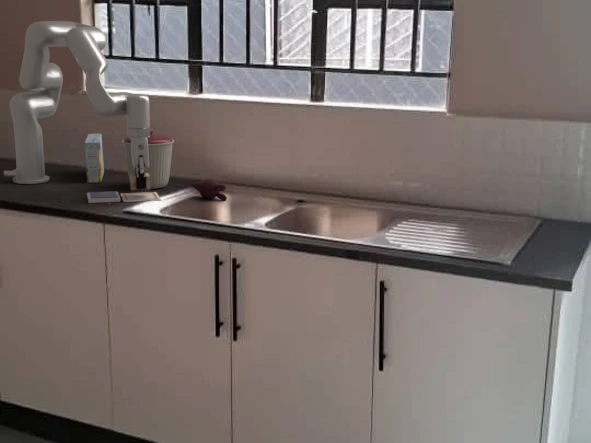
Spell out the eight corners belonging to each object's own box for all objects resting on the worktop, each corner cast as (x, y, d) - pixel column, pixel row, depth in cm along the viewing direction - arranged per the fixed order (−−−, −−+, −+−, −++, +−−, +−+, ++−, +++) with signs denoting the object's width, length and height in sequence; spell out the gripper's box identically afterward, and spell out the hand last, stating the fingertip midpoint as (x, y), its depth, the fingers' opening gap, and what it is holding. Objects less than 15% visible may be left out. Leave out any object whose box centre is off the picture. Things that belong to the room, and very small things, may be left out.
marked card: (123, 202, 268) (123, 200, 268) (120, 194, 279) (120, 193, 279) (160, 200, 271) (160, 199, 271) (156, 192, 282) (156, 191, 282)
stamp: (132, 192, 271) (131, 171, 269) (130, 188, 276) (129, 167, 275) (150, 191, 273) (149, 170, 271) (148, 187, 278) (147, 167, 276)
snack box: (89, 172, 316) (87, 133, 313) (104, 172, 317) (103, 133, 314) (85, 183, 296) (83, 141, 292) (101, 183, 297) (100, 141, 293)
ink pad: (88, 202, 266) (88, 198, 265) (87, 196, 275) (86, 192, 275) (120, 201, 269) (120, 197, 268) (117, 195, 278) (117, 190, 277)
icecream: (182, 179, 274) (218, 188, 267) (196, 170, 280) (231, 179, 272) (184, 197, 278) (220, 207, 270) (198, 188, 283) (233, 198, 276)
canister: (121, 182, 298) (119, 124, 293) (171, 180, 303) (170, 123, 298) (125, 192, 282) (123, 131, 276) (178, 190, 286) (177, 130, 281)
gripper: (153, 136, 263) (154, 191, 267) (147, 128, 279) (148, 181, 283) (129, 136, 261) (131, 192, 265) (124, 129, 277) (126, 182, 281)
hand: (140, 186), depth 274 cm, fingers closed on stamp, 6 cm apart
